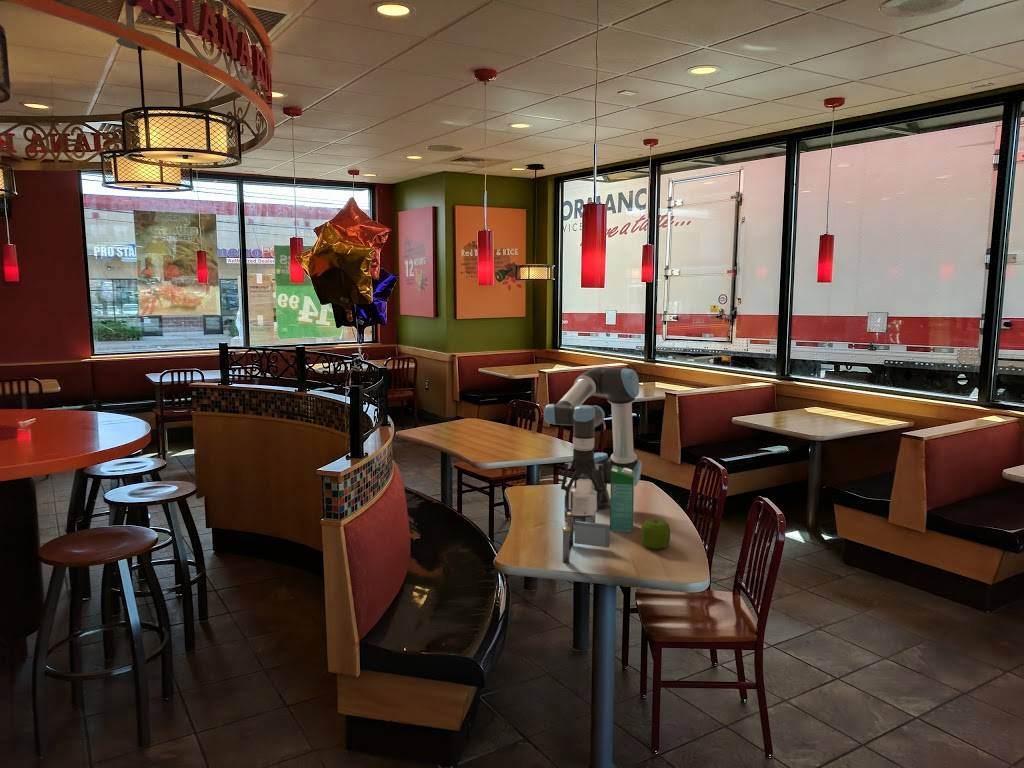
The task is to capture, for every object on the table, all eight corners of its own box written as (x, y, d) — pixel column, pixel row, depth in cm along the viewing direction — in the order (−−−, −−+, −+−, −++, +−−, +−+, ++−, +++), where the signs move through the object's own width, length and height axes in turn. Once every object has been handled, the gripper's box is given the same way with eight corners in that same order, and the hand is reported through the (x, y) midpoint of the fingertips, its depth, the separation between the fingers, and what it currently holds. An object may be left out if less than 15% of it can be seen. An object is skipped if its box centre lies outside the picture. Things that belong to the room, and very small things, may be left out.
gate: (574, 543, 273) (574, 521, 272) (575, 542, 274) (575, 520, 273) (608, 547, 269) (609, 525, 267) (609, 546, 270) (609, 524, 269)
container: (570, 508, 267) (571, 474, 265) (590, 508, 268) (592, 474, 266) (573, 515, 260) (574, 481, 257) (594, 515, 260) (596, 481, 258)
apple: (663, 554, 266) (664, 525, 264) (636, 548, 271) (637, 520, 270) (674, 544, 275) (675, 517, 273) (647, 539, 281) (648, 512, 279)
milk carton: (632, 532, 289) (633, 471, 285) (609, 530, 290) (610, 470, 287) (633, 524, 297) (634, 465, 294) (611, 523, 299) (612, 464, 296)
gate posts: (566, 543, 276) (567, 511, 274) (574, 544, 276) (574, 511, 274) (561, 563, 257) (562, 528, 255) (569, 563, 256) (569, 529, 255)
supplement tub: (566, 519, 304) (566, 477, 302) (596, 521, 302) (597, 478, 299) (562, 529, 292) (562, 485, 289) (594, 531, 289) (594, 487, 286)
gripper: (553, 449, 258) (552, 510, 262) (613, 452, 255) (612, 513, 258) (555, 444, 266) (554, 504, 269) (613, 447, 262) (612, 507, 265)
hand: (582, 508), depth 263 cm, fingers closed on container, 9 cm apart
